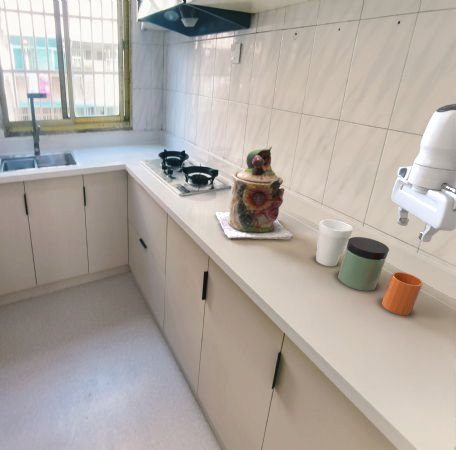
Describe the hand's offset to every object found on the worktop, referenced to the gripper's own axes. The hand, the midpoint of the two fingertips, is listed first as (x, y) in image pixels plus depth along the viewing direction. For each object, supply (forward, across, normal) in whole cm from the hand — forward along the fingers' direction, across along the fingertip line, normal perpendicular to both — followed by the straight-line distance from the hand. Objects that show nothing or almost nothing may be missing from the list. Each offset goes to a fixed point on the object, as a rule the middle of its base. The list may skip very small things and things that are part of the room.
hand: (412, 232), depth 83 cm
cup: (+21, -3, -1) cm, 21 cm away
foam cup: (+21, +20, +9) cm, 31 cm away
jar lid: (+9, +9, +4) cm, 14 cm away
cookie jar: (+21, +44, +30) cm, 57 cm away
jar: (+21, +9, +4) cm, 23 cm away
